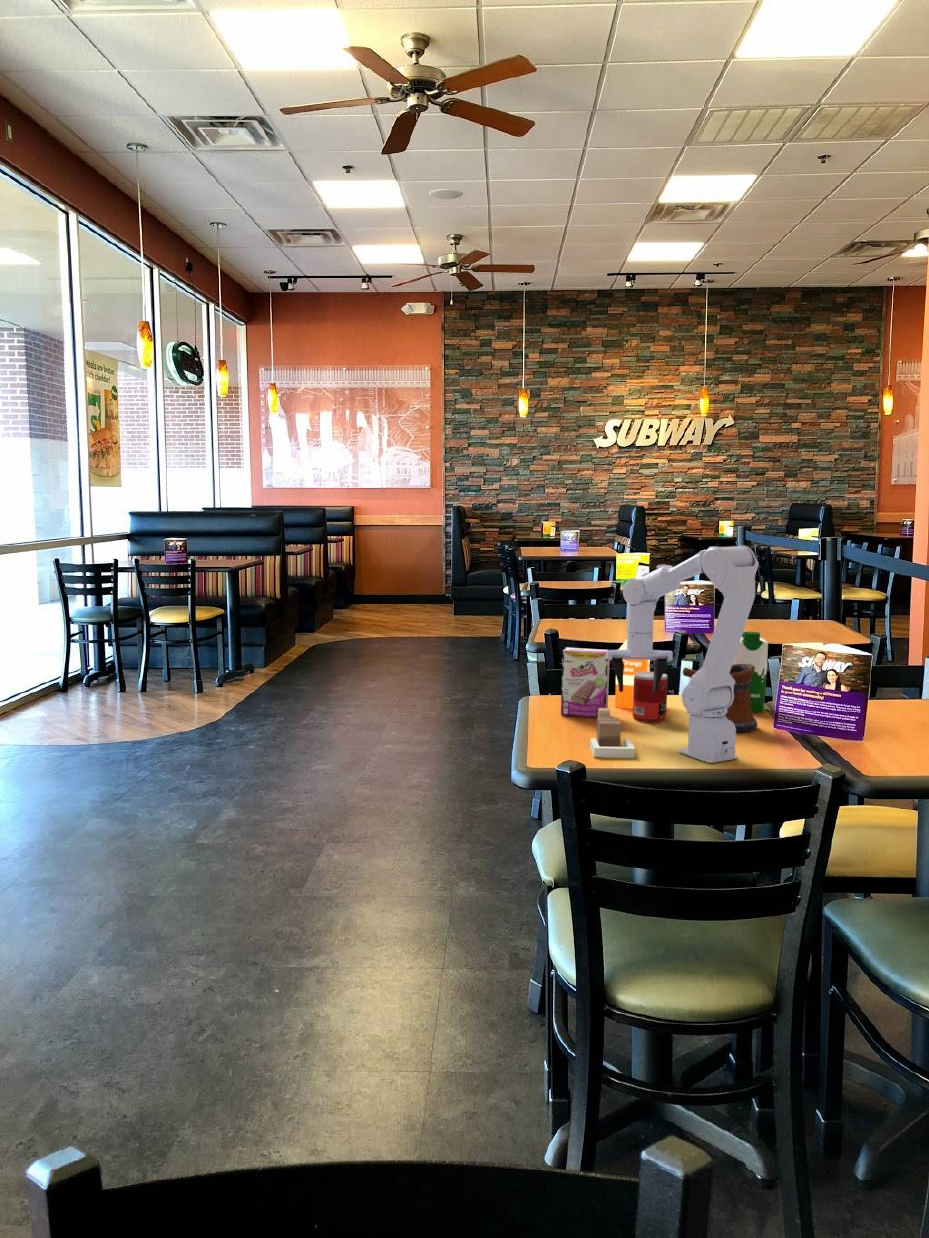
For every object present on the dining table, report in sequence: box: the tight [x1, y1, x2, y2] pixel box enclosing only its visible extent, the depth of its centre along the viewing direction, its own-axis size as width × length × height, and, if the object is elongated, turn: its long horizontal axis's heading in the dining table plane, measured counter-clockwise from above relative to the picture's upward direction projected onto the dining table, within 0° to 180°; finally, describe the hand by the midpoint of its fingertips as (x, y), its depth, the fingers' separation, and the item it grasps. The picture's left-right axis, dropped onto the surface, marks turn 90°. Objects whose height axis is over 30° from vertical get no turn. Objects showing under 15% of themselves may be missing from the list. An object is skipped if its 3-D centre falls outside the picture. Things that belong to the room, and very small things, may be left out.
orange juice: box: [614, 638, 651, 710], centre depth 239 cm, size 8×9×20 cm
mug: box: [682, 664, 758, 733], centre depth 217 cm, size 18×12×15 cm, turn 96°
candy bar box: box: [560, 647, 611, 719], centre depth 227 cm, size 11×5×16 cm, turn 76°
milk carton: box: [732, 631, 769, 714], centre depth 235 cm, size 9×9×20 cm
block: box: [596, 707, 622, 747], centre depth 205 cm, size 12×4×6 cm, turn 178°
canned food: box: [632, 671, 669, 724], centre depth 225 cm, size 8×8×11 cm
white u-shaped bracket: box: [589, 737, 636, 759], centre depth 196 cm, size 8×8×2 cm
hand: (638, 691), depth 210 cm, fingers open, 7 cm apart
